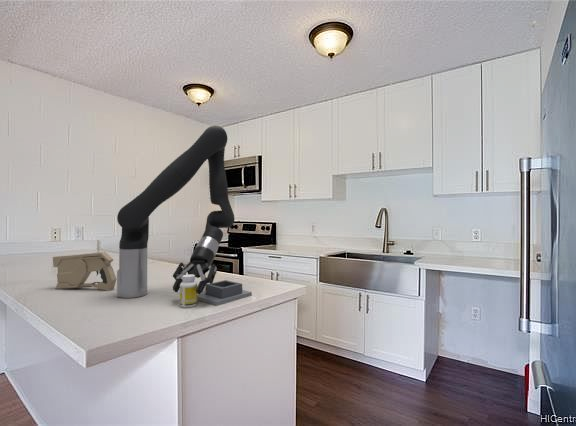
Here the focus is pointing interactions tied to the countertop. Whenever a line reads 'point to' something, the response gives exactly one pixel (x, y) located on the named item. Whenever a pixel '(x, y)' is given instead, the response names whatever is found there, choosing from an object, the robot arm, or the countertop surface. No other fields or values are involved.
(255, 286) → the countertop surface
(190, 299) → the supplement bottle
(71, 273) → the gun
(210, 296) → the gray socket holder
